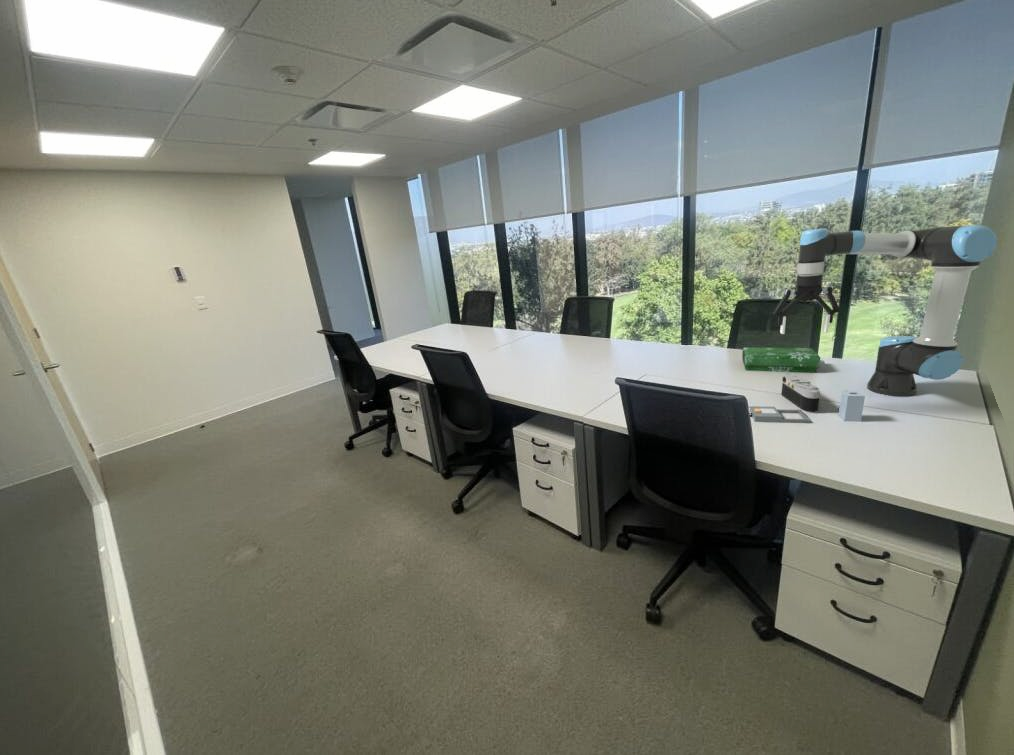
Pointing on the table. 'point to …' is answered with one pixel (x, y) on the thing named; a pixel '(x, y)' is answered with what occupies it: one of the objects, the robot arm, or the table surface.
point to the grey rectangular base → (775, 415)
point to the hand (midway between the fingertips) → (803, 332)
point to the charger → (851, 406)
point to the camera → (800, 392)
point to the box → (781, 359)
